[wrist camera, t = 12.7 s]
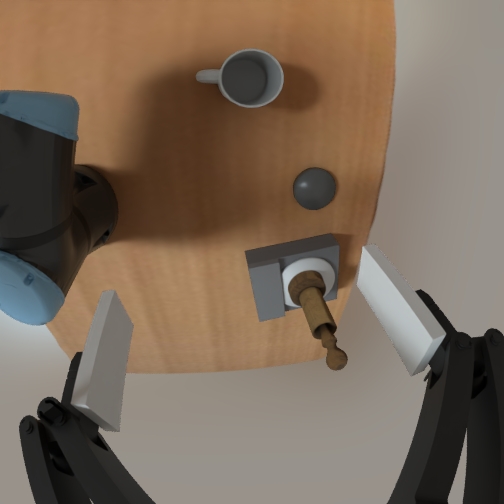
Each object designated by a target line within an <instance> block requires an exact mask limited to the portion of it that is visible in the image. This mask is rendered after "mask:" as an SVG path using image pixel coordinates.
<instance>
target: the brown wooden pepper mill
mask: <svg viewBox="0 0 504 504" xmlns="http://www.w3.org/2000/svg"><path fill="white" fill-rule="evenodd" d="M288 292H289V295H290V298H291V300H292V302H293V303H294V304H295V305H297V306H301V307H302V308H303V311H304V313H305V316H306V319H307V322H308V324H309V327H310V330H311V332H312V335H313V337H314V338H316V339H321V340H322V346H323V347H324V348H327V350H328V353H327V357H326V363H327V365H328V367H329V368H330V369H332V370H341V369H342V368H344V367H345V365H346V364H347V360H348V359H347V355H346V353H345V352H344V351H343V350H341V349H339V348H338V347H337V346H336V342H337V339H336V337H335V336H334V335H333V334H334V333H335V332H336V329H337V326H336V324H335V322H334V319H333V317H332V315H331V313H330V311H329V309H328V307H327V304H326V302H325V300H324V298H323V296H324V295H325V292H326V285H325V283H324V281H323V279H322V277H321V275H320V274H319V273H317V272H315V271H311V270H308V271H303V272H300V273H298V274H297V275H295V276H294V277H293V278H292V279H291V281H290V282H289V285H288Z"/></svg>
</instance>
